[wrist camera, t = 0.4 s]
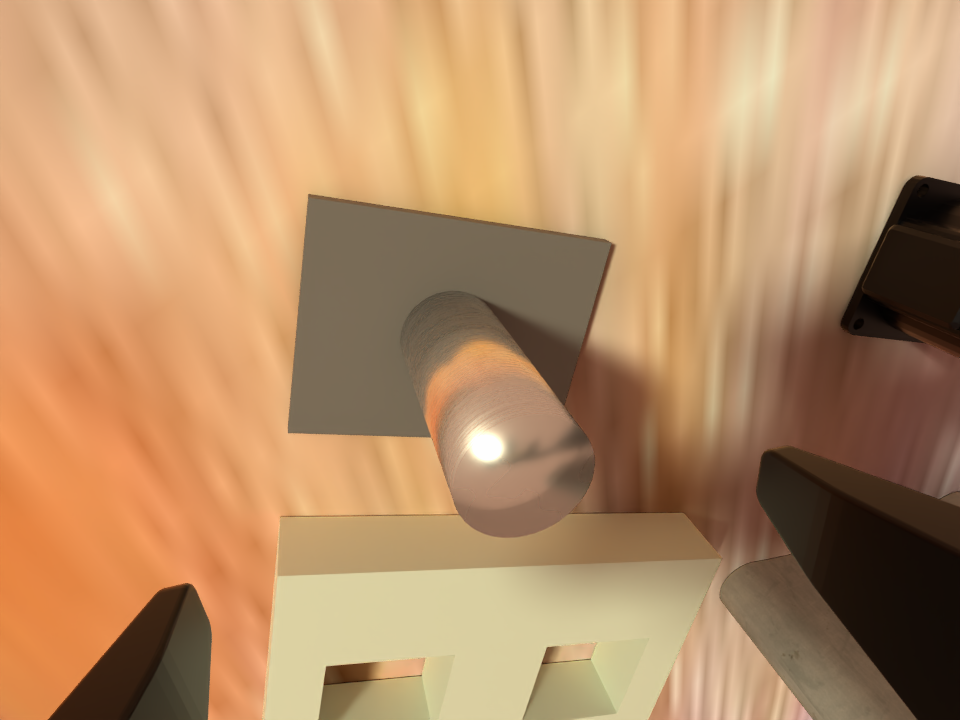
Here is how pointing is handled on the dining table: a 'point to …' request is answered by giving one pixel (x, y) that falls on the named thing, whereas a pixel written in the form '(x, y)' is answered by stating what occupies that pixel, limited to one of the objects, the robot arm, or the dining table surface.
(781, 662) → the grey upright panel
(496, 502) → the plug
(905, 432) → the dining table surface
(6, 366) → the dining table surface
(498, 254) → the mat
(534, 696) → the socket block
